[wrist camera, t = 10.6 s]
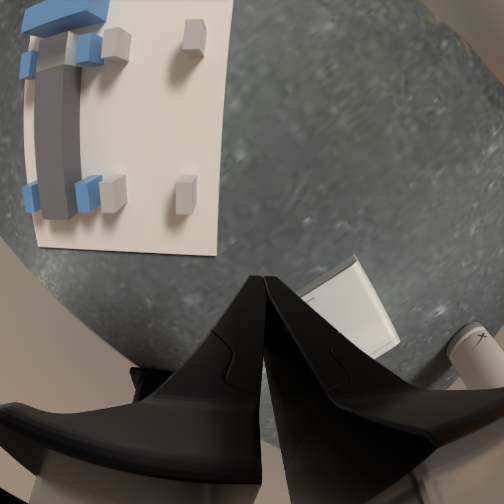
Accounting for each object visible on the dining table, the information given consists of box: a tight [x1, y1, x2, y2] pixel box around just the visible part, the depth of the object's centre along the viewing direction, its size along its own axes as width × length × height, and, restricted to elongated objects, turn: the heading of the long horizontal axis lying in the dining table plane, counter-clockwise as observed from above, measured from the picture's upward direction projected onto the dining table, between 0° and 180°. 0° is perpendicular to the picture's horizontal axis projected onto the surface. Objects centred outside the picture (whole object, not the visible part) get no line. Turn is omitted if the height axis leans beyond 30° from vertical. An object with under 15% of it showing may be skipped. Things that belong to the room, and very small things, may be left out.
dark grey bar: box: [34, 31, 82, 220], centre depth 15 cm, size 13×2×2 cm, turn 176°
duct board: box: [19, 0, 234, 256], centre depth 15 cm, size 20×16×4 cm
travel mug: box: [446, 322, 504, 390], centre depth 20 cm, size 6×7×20 cm
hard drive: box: [295, 255, 400, 359], centre depth 26 cm, size 2×8×12 cm
